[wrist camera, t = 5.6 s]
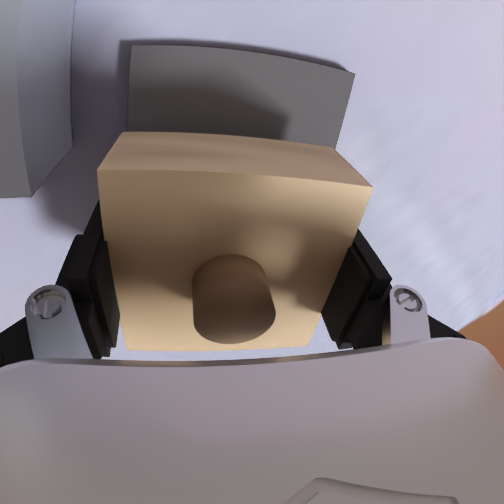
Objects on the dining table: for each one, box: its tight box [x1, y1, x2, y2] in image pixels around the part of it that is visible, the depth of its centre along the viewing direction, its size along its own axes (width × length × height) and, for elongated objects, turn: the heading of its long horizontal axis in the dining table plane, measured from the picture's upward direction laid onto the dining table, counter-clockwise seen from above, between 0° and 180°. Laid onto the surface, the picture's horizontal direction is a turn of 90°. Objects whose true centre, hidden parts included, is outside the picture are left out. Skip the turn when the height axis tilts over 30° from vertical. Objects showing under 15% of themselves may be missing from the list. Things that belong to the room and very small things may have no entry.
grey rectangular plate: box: [128, 45, 355, 149], centre depth 13 cm, size 11×8×1 cm
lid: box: [97, 132, 373, 351], centre depth 10 cm, size 7×7×4 cm
